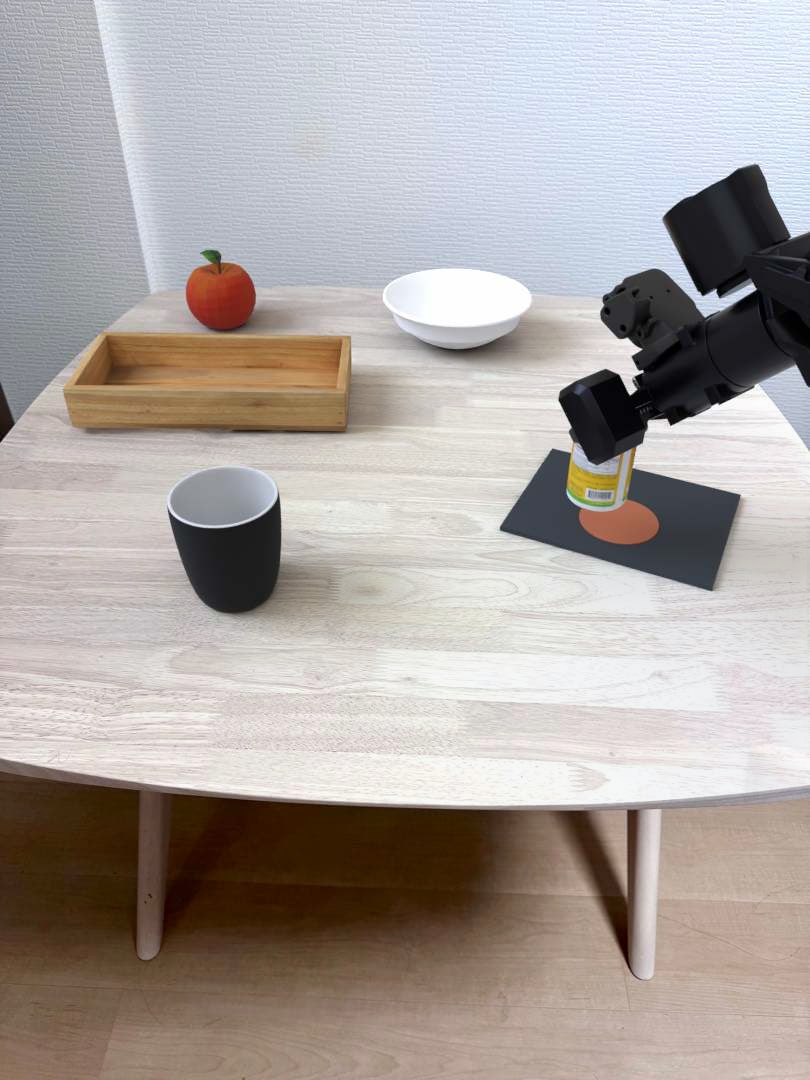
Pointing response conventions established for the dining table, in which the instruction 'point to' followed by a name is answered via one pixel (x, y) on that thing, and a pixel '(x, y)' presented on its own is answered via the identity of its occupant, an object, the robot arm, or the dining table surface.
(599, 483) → the supplement bottle
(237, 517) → the mug
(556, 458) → the placemat
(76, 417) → the tray
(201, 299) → the fruit
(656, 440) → the dining table surface
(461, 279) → the bowl
